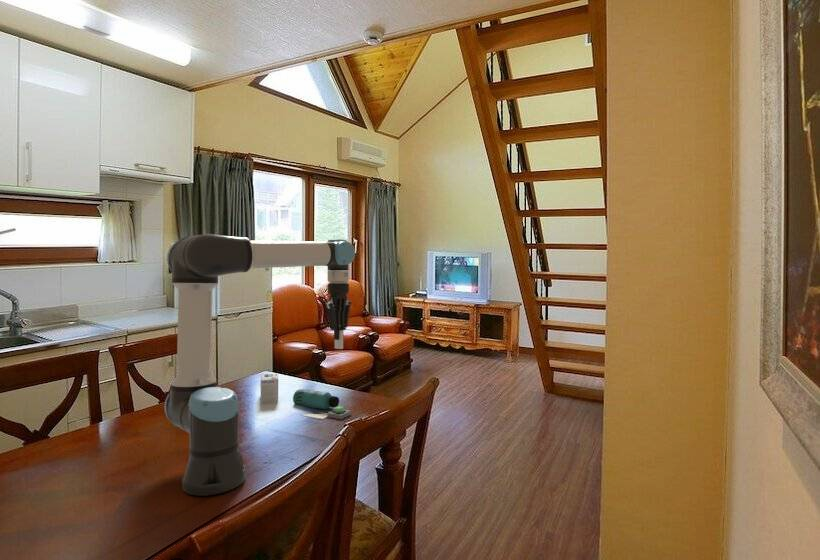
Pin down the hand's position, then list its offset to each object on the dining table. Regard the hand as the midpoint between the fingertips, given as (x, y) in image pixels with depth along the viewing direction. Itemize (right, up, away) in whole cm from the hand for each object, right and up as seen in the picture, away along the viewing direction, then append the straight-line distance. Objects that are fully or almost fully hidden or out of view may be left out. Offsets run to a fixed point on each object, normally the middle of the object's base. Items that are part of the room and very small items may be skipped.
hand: (338, 348), depth 163 cm
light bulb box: (-30, -25, +17) cm, 42 cm away
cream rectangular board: (-7, -24, +6) cm, 26 cm away
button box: (0, -24, 0) cm, 24 cm away
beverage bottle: (-19, -21, +14) cm, 32 cm away
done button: (0, -23, 0) cm, 23 cm away
